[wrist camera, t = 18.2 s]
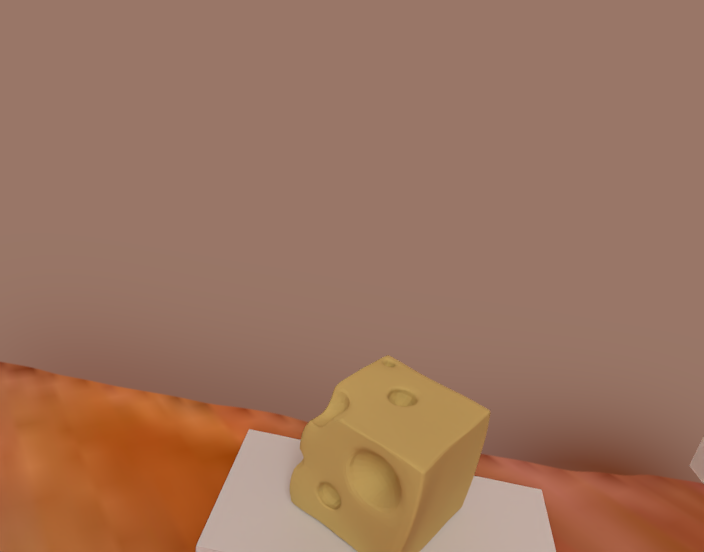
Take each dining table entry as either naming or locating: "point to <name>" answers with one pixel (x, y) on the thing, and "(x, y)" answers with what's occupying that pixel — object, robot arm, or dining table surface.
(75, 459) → the dining table surface
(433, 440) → the cheese
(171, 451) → the dining table surface
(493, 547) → the mat
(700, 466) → the robot arm
